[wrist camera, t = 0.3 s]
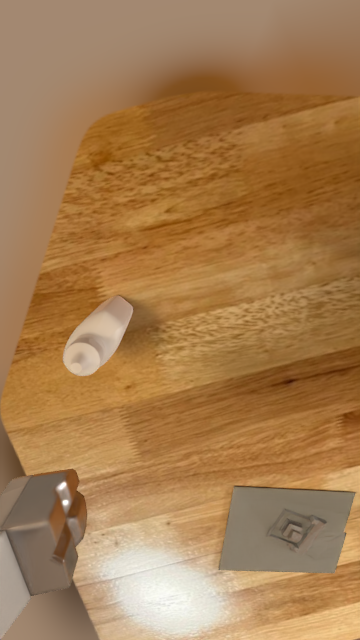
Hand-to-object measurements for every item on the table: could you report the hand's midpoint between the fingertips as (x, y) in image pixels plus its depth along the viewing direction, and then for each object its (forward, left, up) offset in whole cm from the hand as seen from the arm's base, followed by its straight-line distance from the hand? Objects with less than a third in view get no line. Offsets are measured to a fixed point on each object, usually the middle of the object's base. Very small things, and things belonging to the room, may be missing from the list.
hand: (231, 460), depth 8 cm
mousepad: (+31, +14, -23) cm, 41 cm away
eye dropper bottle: (+1, -7, -23) cm, 24 cm away
